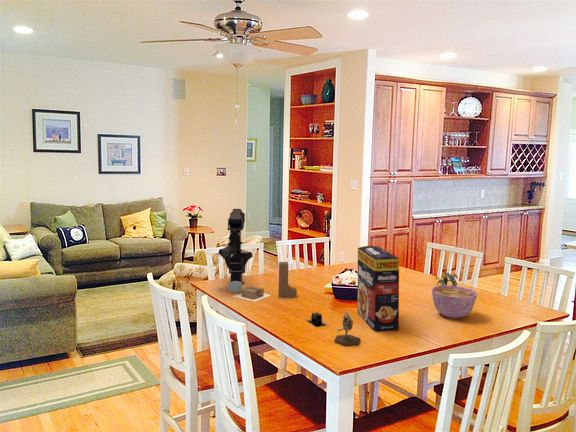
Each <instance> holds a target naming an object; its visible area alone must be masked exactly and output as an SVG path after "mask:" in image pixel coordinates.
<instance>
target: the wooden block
mask: <svg viewBox="0 0 576 432" xmlns="http://www.w3.org/2000/svg"><path fill="white" fill-rule="evenodd" d="M297 291H298V290H297V288H296V287H295V286H290V284H289V262H288V261H279V262H278V293H277V295H278V299H292V298H293V299H294V298H295V299H296V298H298V297H297V295H298V292H297Z"/></svg>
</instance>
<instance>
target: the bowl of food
mask: <svg viewBox="0 0 576 432" xmlns="http://www.w3.org/2000/svg"><path fill="white" fill-rule="evenodd" d="M431 294H432V295H431V296H432V301H433V305H434V308H435V310H437V311H436V312H438V313H440V314H441V315H443V316H444V317H446V318H449V319H461V318H463V317H467V316H468V315H470V314H471V312H472V311H473V309H474V305H475V302H476V300H477V296H478V292H477V291H475V290H473V289H472V288H468V287H463V286H459V285H458V286H453V285H443V286H441V285H438V286H434V287H431Z"/></svg>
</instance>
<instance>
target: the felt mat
mask: <svg viewBox="0 0 576 432" xmlns="http://www.w3.org/2000/svg"><path fill="white" fill-rule="evenodd" d="M232 297H233V298H238V299H243V300H247V301H251V302H257V301H260V300H262V299H265V298H267V297H271V294H268V293H264V296H263V297H260V298H257V299H254V300H253V299H248V298H244V297H241V293H239V294H236V295H233V296H232Z"/></svg>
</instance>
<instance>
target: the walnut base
mask: <svg viewBox="0 0 576 432" xmlns="http://www.w3.org/2000/svg"><path fill="white" fill-rule="evenodd" d="M264 289H265V288H263V287H258V286H253V285H250V286H246V287H244V288H243V287H242V289H241V291H240V294H241V297H244V298H248V299H253V300H254V299H257V298H260V297H263V296H264V294H265V293H264Z"/></svg>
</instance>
